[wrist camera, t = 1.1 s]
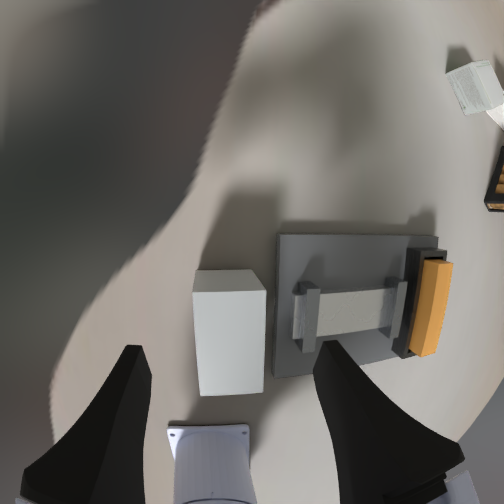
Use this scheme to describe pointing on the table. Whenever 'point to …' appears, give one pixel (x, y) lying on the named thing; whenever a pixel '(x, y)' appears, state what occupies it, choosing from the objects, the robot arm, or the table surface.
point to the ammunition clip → (496, 187)
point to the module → (229, 331)
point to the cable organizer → (497, 115)
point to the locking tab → (431, 306)
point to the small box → (476, 87)
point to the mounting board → (335, 277)
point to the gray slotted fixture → (362, 307)
